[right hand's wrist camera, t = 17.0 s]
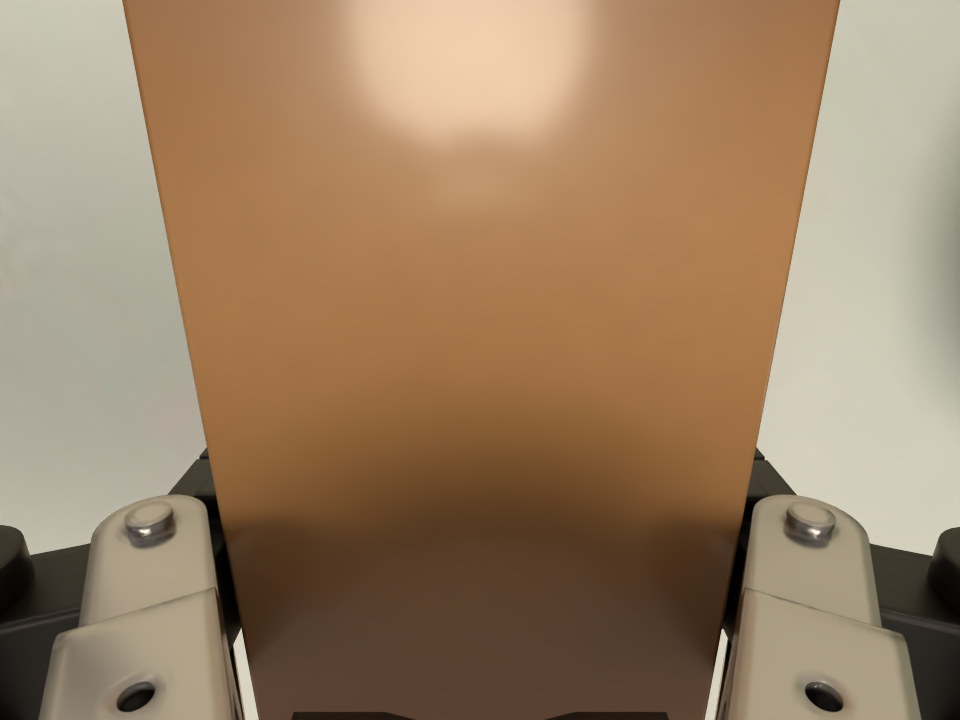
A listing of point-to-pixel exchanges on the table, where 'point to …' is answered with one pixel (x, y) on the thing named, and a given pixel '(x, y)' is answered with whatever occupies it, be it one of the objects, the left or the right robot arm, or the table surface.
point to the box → (481, 330)
